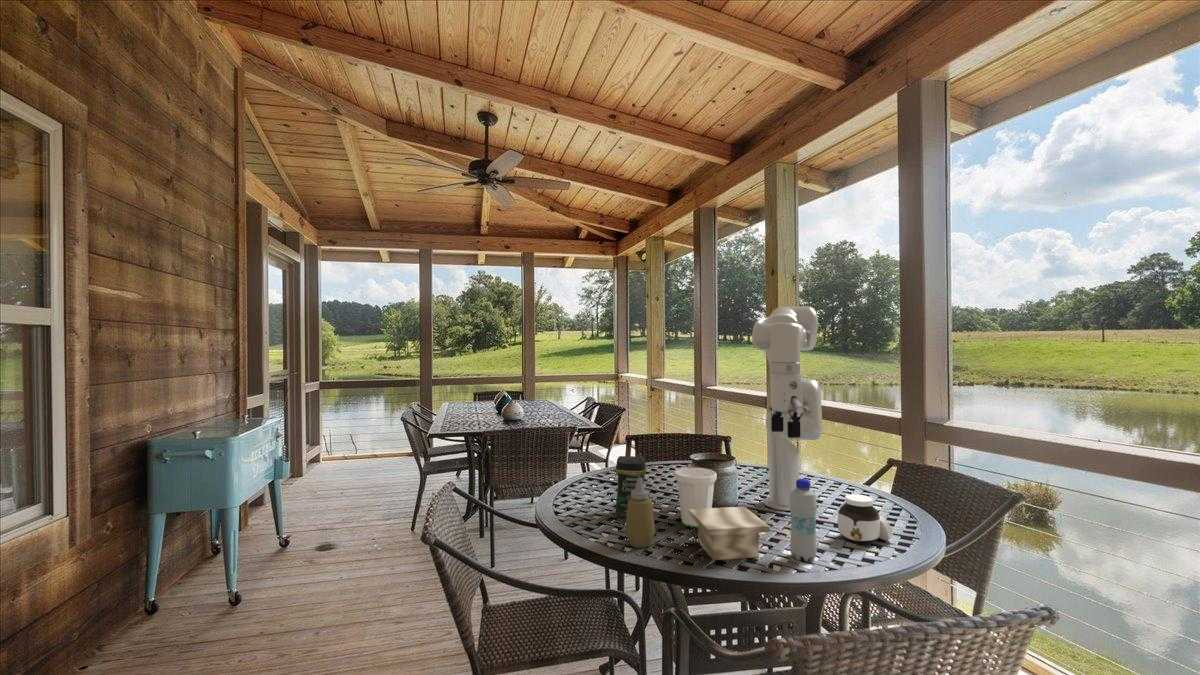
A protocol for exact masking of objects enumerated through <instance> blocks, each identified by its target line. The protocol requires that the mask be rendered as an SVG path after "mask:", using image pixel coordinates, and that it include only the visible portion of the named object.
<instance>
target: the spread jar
mask: <svg viewBox="0 0 1200 675" xmlns="http://www.w3.org/2000/svg"><path fill="white" fill-rule="evenodd" d="M844 501H845V502H844V503H843V504H842V505H841V506H840V508H839V510H838V514H837V526H838V528H837V529H838V532H839V534H840V535H841V537H842V538H843V539H844V540H845V541H847V542H849V543H851V544H855V545H860V546H861V545H862V546H867V545H872V544H874V543H875V542H876V541H878V540H879V539H881V540H883V541H889V540H891V539H892V538H894V533H893V529H892V527H891V525H890V523H889V522H888V521H887V519H886V518H885V517H884V516H882V515H881V514H880V513H879V512H878V510H877V509H876V507H874V506H873V498H872V497H870V496H867V495H863V494H846V495H845V496H844Z"/></svg>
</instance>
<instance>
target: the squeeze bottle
mask: <svg viewBox="0 0 1200 675" xmlns="http://www.w3.org/2000/svg"><path fill="white" fill-rule="evenodd" d="M631 497H632V498H630V499H629V500H628V507H627V518H625V520H626V521H625V530H624V531H625V534H626V537H627V541H628V543H629V545H630V546H631V547H632V548H633V547H634V548H637V549H638V548H639V549H641V548H648V547H650V546H651V545H652V543H653V539H654V535H655V533H656V526H655V518H654V509H653V508H654V507H653V501H652V499H650V498H649V491H648V490H647V489H645V484H644V485H643V481H642V478H638V479H637V484H636V488H635V490H632V492H631Z"/></svg>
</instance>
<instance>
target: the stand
mask: <svg viewBox="0 0 1200 675" xmlns="http://www.w3.org/2000/svg"><path fill="white" fill-rule="evenodd" d="M689 515H690V516H691V517H692V519H693V520H694V521H695V522H696V523H697V524H698V529H697V530H698V534H697V536H698V538H697V539H698V542H697V543H700V544H699V545H700V546H701V547H702V548H703V550H704V551H705V552H706V553H707V555H708V556H709V557H710V558H711V560H712V561H718V560H719V561H721V560H722V561H723V560H734V559H735V560H736V559H737V560H739V559H752V558H759V557H760V555H759V554H760V552H759V551H760V550H759V548H760V546H759V545H760V542H759V538H760V537H759V533H760V534H762V533H770V525H769V524H767V523H766V522H765V521H764V520H762V519H761V518H760V517H758V516H757V515H756V514H755V513H753V512H752V511H751V510H750V509H748V508H747V507H746V506H730V507H729V506H728V507H727V506H726V507H712V508H705V509H689Z"/></svg>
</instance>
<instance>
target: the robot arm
mask: <svg viewBox="0 0 1200 675" xmlns="http://www.w3.org/2000/svg"><path fill="white" fill-rule="evenodd" d="M818 330H819V319H818V314H817V312H816V310H815V309H814V308H813V307H812V306H809V305H807V306H806V305H804V306H781V307H777V308H775V309H773V311H771V313H770V315H769V316H767V317H762V318H759V319H757V320H756V321H755V323H754V325H753V328H752V333H751V335H752V336H751V339H752V344H753V346H754V348H755V349H756V350H759V351H763V352H764V355H765V356H766V359H767V361H768V364H769V388H770V389H769V394H770V398H769V400H768V401H769V405H770V406H769V410H770V411H769V412H768V413H767V414H766V418H765V428H766V435H767V441H768V442H767V443H768V497H765V499H764V502H763V503H764V505H765V506H766V507H768V508H770V509H775V510H779V511H790V512H791V510H790V509H789V507H790V505H789V500H790V493H791V490H793V489H796V481H797V480H798V479H800V454H799V453H800V452H799V450H798V448H797V447H796V446H795V444H793V443H792V441H791V440H802V441H803V440H804V441H805V440H806V441H816V440H819V439H820V438H821V437H822V434H823V413H822V412H823V411H822V410H823V409H822V394H821V393H822V392H821V387H820V384H819V382H818V381H817V380H816V379H814V378H801V351H811V350H813V349H814V348H815V347H816V345H817V340H818ZM804 408H805V409H806V410H804Z"/></svg>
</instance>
